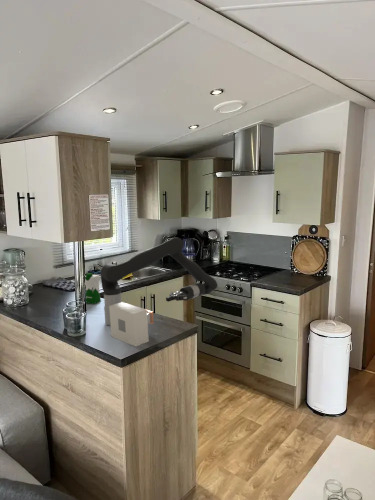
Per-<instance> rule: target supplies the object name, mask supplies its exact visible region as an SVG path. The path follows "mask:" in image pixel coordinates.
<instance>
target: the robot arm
mask: <svg viewBox="0 0 375 500" xmlns="http://www.w3.org/2000/svg"><path fill="white" fill-rule="evenodd" d="M184 247H185V244H184V240H183V239H182V238H180V237H172V238H169V240H167V241H164V242H163V243H161V244H159V245H156V246H153V247H150V248H148V249H145V250H142V251H139V252H137V253H136V254H134V255H133V256H132V257H130V259H128V260H127V261H125V262H123V263H122V262H121V263H120V264H112V263H106V264H105V265H103V266H102V267H101V270H100V279H101V281H100V282H101V289H102V292H103V299H104V306H103V308H104V309H103V310H104V311H103V312H104V321H105V325H106V326H109V327H111V324H110V310H109V306H110V305H114V304H117V303H121V302H122V291H121V287H120V285H119V283H118V282H119V281H120V280H122V279H123V278H126V277H127V276H129V275H130V274H133V273H136V272H138V271H141V270H143V269H146V268H148V267H150V266H152V265H154V264H156V263H158V262H159V261H161V260H162V259H163V258H165V257H167V256H170V257H171V258H173V260H175V261H176V262H177V263H178V264H179V265H181V266H182V267H183V268H184V270H186V271H187V272H188V273H189V274H190V275H191V276H192V278H193V279H194V280H195V281H196V282H200V281H202V282H203V283H201V282H200V283H195V284H190V285H187V286H183V287H181V288H180V289H179V291H176V292H173V291H170V293H169V296H166V297H165V301H166V302H172V301H176V302H179V301H189V300H192V299H195V298H196V297H200V296H204V295H205V296H206V295H209V294H210V293H212V292H213V291H214V290H216V289H217V288H218V282H217V281H216V279H215V278H214V277H212V276H211V275H209V274H207V273H206V272H205V271H204V270H203V269H202V268H201V267H200V266H199V264H197V263H196V262H195V261H193V260H191V259H190V258H188V256H186V255H185V254H184V253H183V252H182V250H183V248H184Z"/></svg>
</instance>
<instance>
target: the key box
mask: <svg viewBox="0 0 375 500" xmlns="http://www.w3.org/2000/svg"><path fill="white" fill-rule="evenodd" d="M109 310H110V324H111V326H110V333H111V334H110V335H111V337H112V338H115V339H116V340H119V341H121V342H123V343H126V344H128V345H131V346H133V347H138V346H141V345H143V344H146V343H148V342H150V341H149V340H150V339H149V326H148V325H149V324H148V322H147V310H148V309H146V308H142V307H140V306H136V305H134V304H130V303H126V302H125V301H121V303H117V304H114V305H110V306H109Z"/></svg>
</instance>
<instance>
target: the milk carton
mask: <svg viewBox="0 0 375 500" xmlns="http://www.w3.org/2000/svg"><path fill="white" fill-rule="evenodd" d="M84 276H85V283H84V286H85V285H86V294H85V303H86V304H91V305H92V304H93V305H95V304H98V303H99V302H101V293H100V274H93V273H92V272H87V273H85V275H84Z"/></svg>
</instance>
